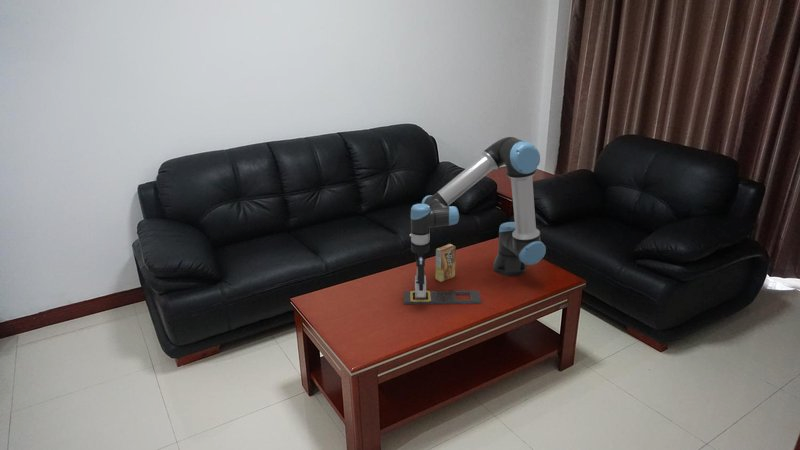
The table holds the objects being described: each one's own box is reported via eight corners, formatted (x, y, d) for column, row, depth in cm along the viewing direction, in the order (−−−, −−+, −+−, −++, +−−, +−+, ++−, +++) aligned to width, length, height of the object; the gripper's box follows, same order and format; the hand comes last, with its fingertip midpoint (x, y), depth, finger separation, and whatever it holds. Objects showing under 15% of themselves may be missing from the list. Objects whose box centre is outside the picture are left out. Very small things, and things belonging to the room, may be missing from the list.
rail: (478, 293, 212) (478, 290, 212) (481, 303, 204) (481, 300, 203) (403, 293, 213) (403, 290, 212) (403, 304, 204) (403, 301, 204)
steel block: (425, 296, 211) (425, 275, 207) (426, 301, 206) (426, 280, 203) (415, 296, 211) (414, 275, 207) (415, 301, 206) (415, 280, 203)
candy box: (448, 273, 230) (449, 243, 225) (455, 276, 227) (456, 246, 222) (435, 279, 225) (435, 248, 220) (441, 282, 222) (441, 251, 216)
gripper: (410, 230, 211) (411, 275, 218) (411, 254, 188) (411, 303, 195) (428, 230, 211) (428, 274, 218) (431, 254, 187) (430, 303, 195)
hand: (420, 288), depth 207 cm, fingers open, 13 cm apart
